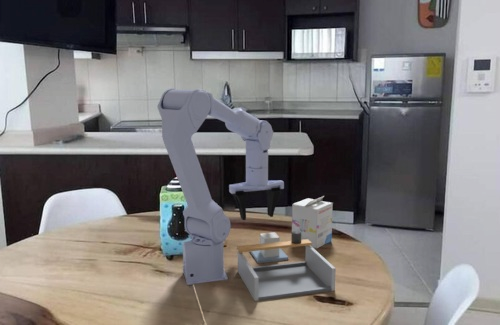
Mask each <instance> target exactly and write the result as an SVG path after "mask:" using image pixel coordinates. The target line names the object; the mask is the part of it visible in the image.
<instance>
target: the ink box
mask: <svg viewBox="0 0 500 325" xmlns="http://www.w3.org/2000/svg"><path fill="white" fill-rule="evenodd" d="M324 197H325V195H322V196H321V197H318V198H315V199H313V198H309V197H308V198H305V199H302V200H300V201H297V202H294V203H292V204H291V205H292V206H291V207H292V208H291V233H292V232H293V231H299V232H301V233H302V234H301V240H305V239H308V240H309V241H310V242H312V245H311V246H312V247H313V248H314V249H318V248H320V247H322V246H324V245H325V244H330V243H331V242H332V240H333V236H332V235H333V204H334V202H330V201H323V198H324Z"/></svg>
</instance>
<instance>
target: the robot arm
mask: <svg viewBox="0 0 500 325" xmlns="http://www.w3.org/2000/svg"><path fill="white" fill-rule="evenodd" d="M157 110H158V112H159V115H160V119H161V135H162V136H161V137H162V141H163V144H164V146H165V150H166V151H167V154H168V157H169V159H170V162H171V165H172V167H173V170H174V173H175V175H176V177H177V181H178V183H179V186H180V188H181V190H182V194H183V197H184V198H185V199H184V200H185V202H186V204H187V206H186V207H185V208H184V210H183V211H182V214H183V217H184V230H185V231H186V233H188V235H189V239H190V240H187V241H184V242H182V260H183V263H182V273H183V275H184V279H185V282H186V285H187V286H192V285H195V284H200V283H201V284H202V283H210V282H218V281H227V280H229V277H228V275H227V272H226V271H225V269H224V267H225V266H224V265H225V264H224V263H225V262H224V261H225V260H224V256H225V255H224V242H225V241H226V240H227V238H228V237H229V235H230V232H231V225H232V224H231V221H230V218H229V217H228V216H227V215H226V214H225V212H224V210H223V208H222V207H221V206H220V205H218V203H217V202H215V201H214V199H212V196H211V193H210V190H209V187H208V184H207V181H206V178H205V175H204V173H203V169H202V167H201V164H200V161H199V157H198V156H197V153H196V149H195V147H194V145H193V141H192V138H193V136H194V134H196V133H197V132H198V130H199V129H200V128H201V126H202V125H203V123H204V122H205V120H206V119H207V117H208V116H211V117H212V118H214V119H217V120H219V121H221V122H224V124H225V127H226V129H227V130H228V131H230V132H232V133H234V134H236V135H238V136H240V137H241V140H242V141H243V142H245V182H239V183H238V182H237V183H233V184H229V185H228V188H229V189H228V191H229V193H230V194H231V195H232V196H233V198H234V200H235V201H236V205H237V208H238V212H239V215H240V219H241V220H243V221H246V219H247V200H248V196H247V195H246V193H245V192H247V193H248V192H257V191H265V192H266V199H267V209H266V211H267V215H268V217H271V218H273V217H274V212H275V209H276V206H277V203H278V202H279V200H280V198H281V196H282V192H283V191H282V190H284V189H285V182H284V181H283V180H279V179H278V180H269V150H270V148H271V140H272V138H273V135H274V130H273V128H272V125H271V124H270V123H269V121H268V120H260V119H259V118H257V117H258V116H256V115H255V114H251V113H248V112H247V109H246V108H245V107H240V106H239V107H235V108H231V107H229V106H228V105H227V104H224V102H222V101H220V100H219V99H217V98H215V97H214V96H213V94H212V93H210V92H207V91H206V90H204V89H203V88H196V89H176V88H168V89H166V90H165V91H164V92H163V93H162V94H161V96H160V100H159V102H158V103H157Z"/></svg>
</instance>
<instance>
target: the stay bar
mask: <svg viewBox="0 0 500 325" xmlns="http://www.w3.org/2000/svg"><path fill="white" fill-rule="evenodd" d="M301 234H302V233H301V232H299V231H293V232H292V231H291V237H290V239H291V240H288V241H279V242H275V243H265V244H260V243H256V244H247V245H237V246H236V249H237V252H238V251H239V252H242V253H248V252H250V251H259V250H269V249H278V248H281V249H286V248H297V247H306V246H307V245H312V242H310V241H309V240H308V239H305V240H301Z"/></svg>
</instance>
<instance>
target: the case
mask: <svg viewBox="0 0 500 325" xmlns="http://www.w3.org/2000/svg"><path fill="white" fill-rule="evenodd" d="M304 260H305V261H304ZM304 260H303V261H294V262H286V263H278V264H269V265H268V264H267V265H260V266H258V265H257V266H252V265H251V264H250V262H249V261H248V260H247V258H246V256H245V255H244V252H239V251H238V250H237V272H238V274H239V276H240V278H241V280H242V282H243V283H244V285H245V287H246V289H247V290H248V292H249V294H250V296H251V297H252V299H253V300H254V302H258V301H259V302H262V301H267V300H275V299H282V298H291V297H298V296H305V295H311V294H312V295H313V294H320V293H327V292H334V291H336V270H337V269H336V267H335V266H334V265H333V264H332V263H330V262H329V261H328V260H327V259H326V258H325V257H324V256H323V255H321V254H320V253H319V251H317V250H316V248H313V247H312V246H311V245H307V246H305V259H304Z"/></svg>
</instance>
